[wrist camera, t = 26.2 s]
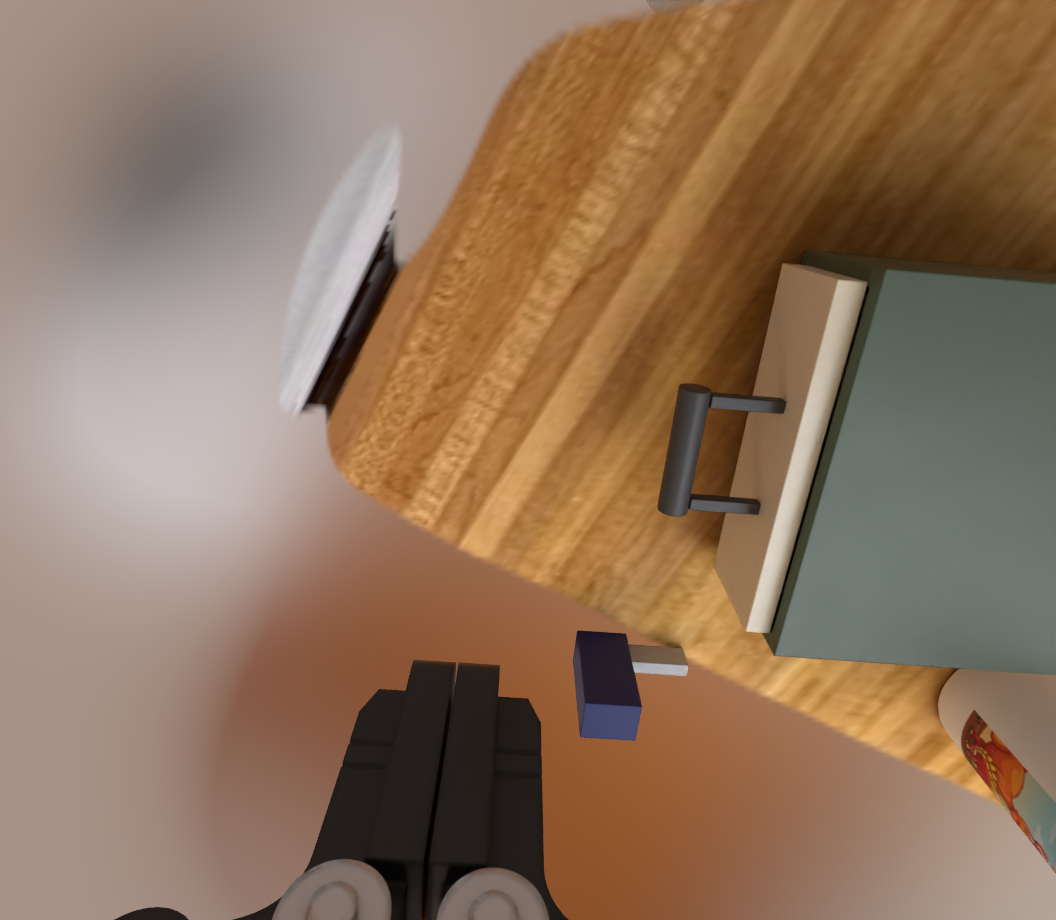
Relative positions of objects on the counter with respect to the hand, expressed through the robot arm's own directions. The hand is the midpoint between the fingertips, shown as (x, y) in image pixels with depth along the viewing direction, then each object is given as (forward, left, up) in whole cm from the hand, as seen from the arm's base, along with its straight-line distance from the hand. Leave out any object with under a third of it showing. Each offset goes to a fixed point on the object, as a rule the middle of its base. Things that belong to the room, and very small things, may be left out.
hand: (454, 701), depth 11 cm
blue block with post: (+17, +9, -23) cm, 30 cm away
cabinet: (+2, +21, -23) cm, 31 cm away
